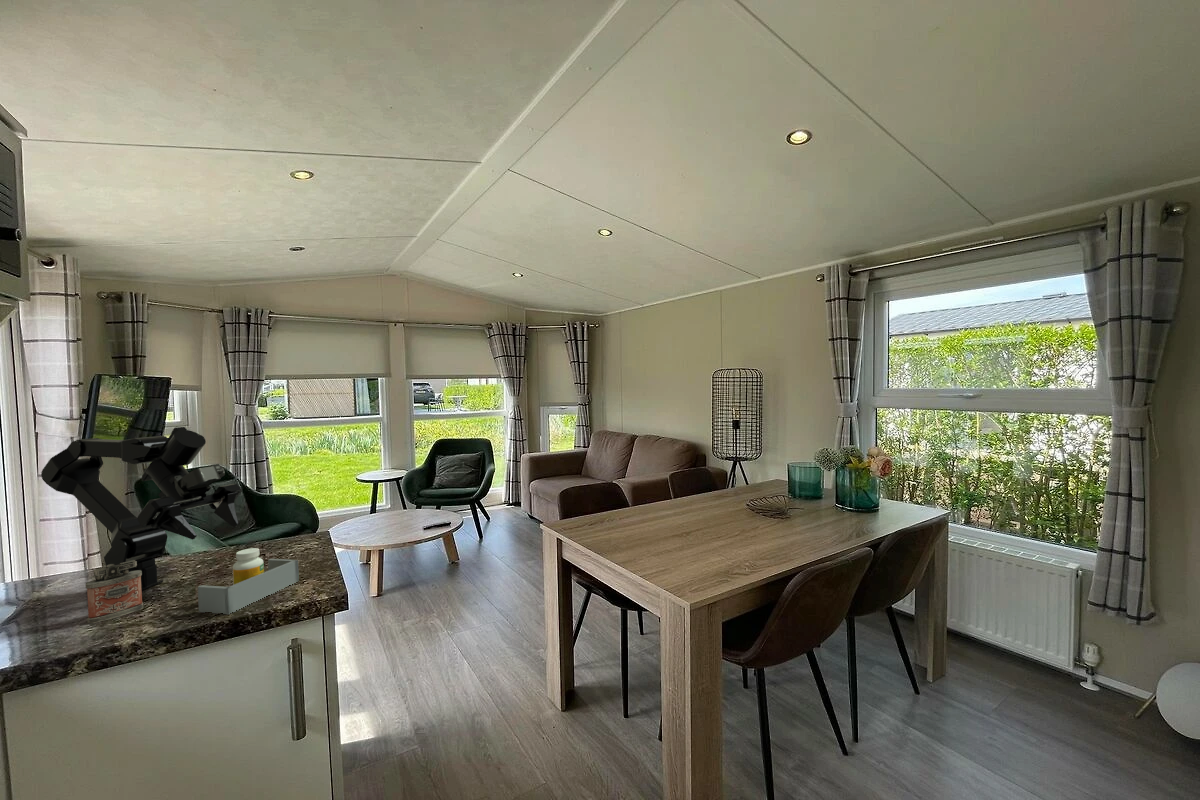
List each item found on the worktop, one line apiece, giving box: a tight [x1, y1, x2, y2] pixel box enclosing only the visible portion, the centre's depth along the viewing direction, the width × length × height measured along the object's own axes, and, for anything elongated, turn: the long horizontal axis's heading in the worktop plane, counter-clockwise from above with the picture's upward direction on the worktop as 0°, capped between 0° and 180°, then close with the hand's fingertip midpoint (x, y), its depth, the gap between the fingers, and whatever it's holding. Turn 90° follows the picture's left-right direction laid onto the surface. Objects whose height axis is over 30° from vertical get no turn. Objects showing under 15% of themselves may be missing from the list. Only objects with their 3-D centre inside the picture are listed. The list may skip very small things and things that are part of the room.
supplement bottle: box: [232, 547, 265, 585], centre depth 105 cm, size 5×5×10 cm
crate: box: [197, 558, 300, 615], centre depth 105 cm, size 7×17×5 cm, turn 167°
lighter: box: [85, 560, 144, 624], centre depth 98 cm, size 8×3×10 cm, turn 148°
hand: (216, 531), depth 106 cm, fingers open, 9 cm apart
